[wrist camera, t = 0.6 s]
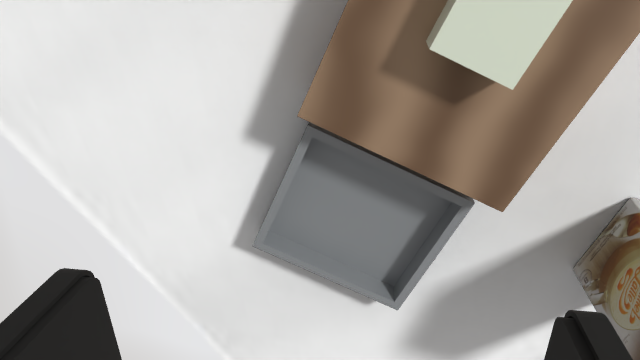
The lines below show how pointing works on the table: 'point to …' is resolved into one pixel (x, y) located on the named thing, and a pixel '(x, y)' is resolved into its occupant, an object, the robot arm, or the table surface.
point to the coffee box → (616, 275)
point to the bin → (359, 217)
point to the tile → (495, 34)
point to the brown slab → (460, 93)
